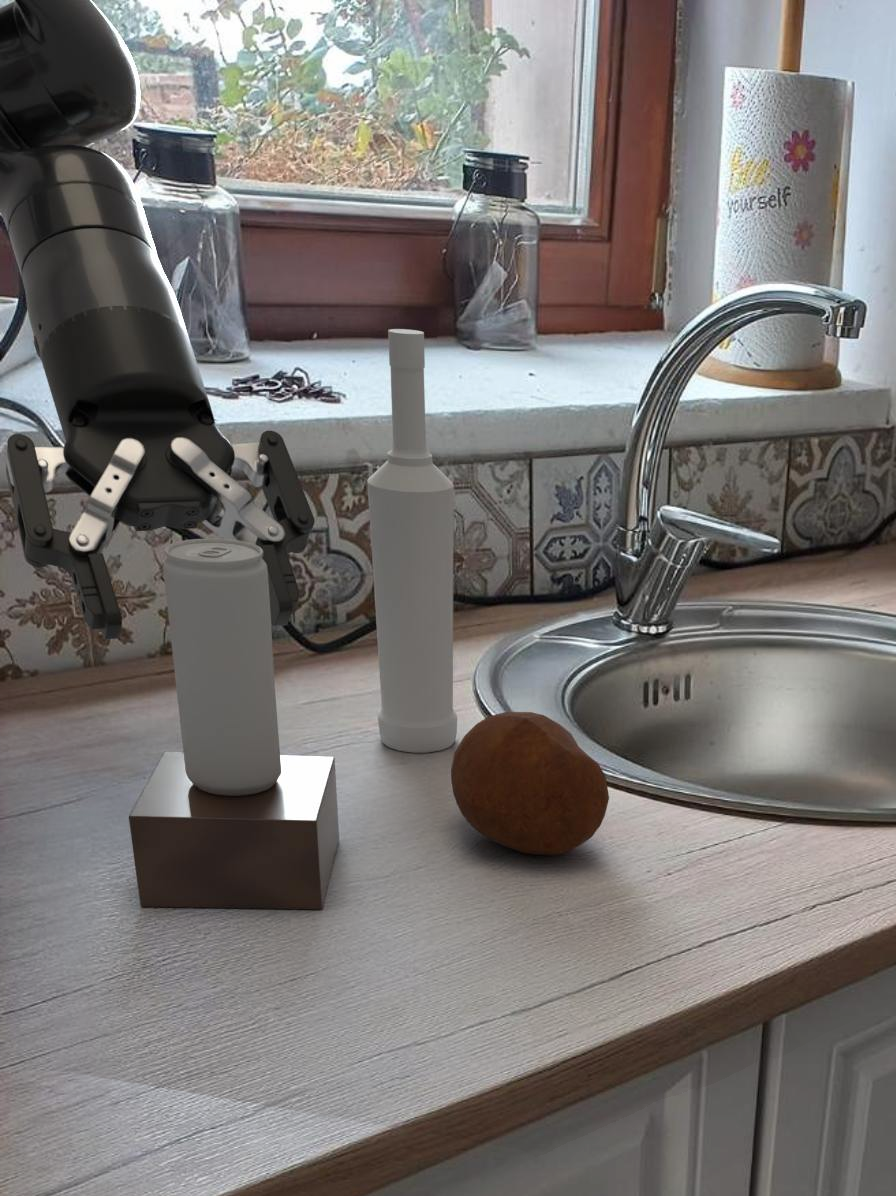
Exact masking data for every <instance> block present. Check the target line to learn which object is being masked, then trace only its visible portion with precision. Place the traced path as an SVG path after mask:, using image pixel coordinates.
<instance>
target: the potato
mask: <svg viewBox="0 0 896 1196" xmlns="http://www.w3.org/2000/svg"><path fill="white" fill-rule="evenodd" d="M450 781H451V787H452V794H453V796H454V800H455V803H456V805H457V807H458V809H459V811H460V813H461V815H462V816H463V818H464V819H465V820H466V822H467V823H468V824H469V825H470V826H471V827H472V828H473V829H474V830H475V831H476V832H477V833H479V834H481V835H482V836H484V837H485V838H487V839H489V840H491V841H493V842H495V843H498V844H500V845H502V846H504V847H507V848H509V849H511V850H514V851H517V852H520V853H523V854H529V855H537V856H538V855H540V856H554V855H558V854H563V853H567V852H569V851H572V850H574V849H576V848H577V847H580V846H581V845H583V844H584V843H586V842H587V841H589V840H590V839H592V837H593V836H594V835H595V834H596V832H597V831H598V830H599V828H600V827H601V825H602V823H603V821H604V818H605V817H606V813H607V810H608V809H607V808H608V805H609V800H610V795H609V788H608V782H607V777H606V775H605V772H604V771H603V769H602V767H601V765H600V764H599V762H598V761H596V760H595V759H593V758H592V757H591V756H589V754H588V753H586V751H584V750H583V748H581V747H580V745H579V744H578V742H577V741H576V739H575V738H574V736H573V734H572V733H571V732H570V731H569V730H568V729H566V728H565V727H564V726H563V725H561V724H560V723H559V722H557V721H555V720H553V719H552V718H549V717H548V716H546V715H544V714H541V713H537V712H532V711H505V712H500V713H496V714H494V715H490V716H487V717H485V718H483V719H482V720H481V721H479V722H477V723H476V724H474V725H473V726H472V728H471V729H470V730H469V731H468V732H467V733H466V734H465V735H464V736H463V738H462V739H461V741H460V742H459V744H458V745H457V747H456V749H455V750H454V753H453V756H452V761H451V767H450Z"/></svg>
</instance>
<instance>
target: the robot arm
mask: <svg viewBox="0 0 896 1196" xmlns="http://www.w3.org/2000/svg"><path fill="white" fill-rule="evenodd" d="M140 103H141V88H140V79H139V75H138V71H137V67H136V65H135V62H134V60H133V57H132V55H131V52H130V51H129V48H128V47H127V45H126V44H125V42H124V40H123V38H122V37H121V35H120V34H119V33H118V31H117V29H116V28H115V27H114V26H113V24H112V23H111V21H109V19H108V18H107V17H106V16H105V14H104V13H103V12H102V11H101V10H100V8H98V7H97V5H96V4H95V3H94V2H93V1H92V0H14V1H11V2H10V3H8V4H5V5H4V6H1V7H0V216H1V218H2V219H3V222H4V226H5V228H6V230H7V233H8V237H9V241H10V244H11V247H12V251H13V253H14V257H15V260H16V263H17V267H18V271H19V273H20V277H21V280H22V284H23V287H24V288H23V289H24V293H25V301H26V308H27V315H28V319H29V324H30V327H31V329H32V334H33V346H34V348H35V349H34V350H35V353H36V354H37V355H36V356H37V357H38V358H39V360H40V361H41V364H42V368H43V371H44V374H45V377H46V381H47V384H48V388H49V391H50V395H51V397H52V401H53V403H54V408H55V411H56V414H57V417H58V420H59V421H58V422H59V424H60V428H61V430H62V433H63V437H64V440H65V442H64V445H63V446H38V445H37V446H36V445H35V443H34V441H33V440H32V438H30V437H29V436H27V435H25V434H22V433H15V434H11V435H10V436H9V437H8V439H7V443H6V463H5V464H6V465H5V474H6V479H7V483H8V487H9V492H10V496H11V501H12V506H13V511H14V515H15V520H16V524H17V529H18V533H19V538H20V542H21V546H22V551H23V555H24V556H23V557H24V560H25V561H26V562H27V563H28V565H30V566H32V567H34V568H40V569H41V568H45V567H47V566H54V567H56V568H57V567H58V568H61V569H63V570H64V571H66V572H67V574H69V576H70V578H71V580H72V583H73V586H74V587H73V588H74V590H75V593H76V597H77V600H78V603H79V607H80V611H81V614H82V617H83V621H84V622H85V623H86V625H87V626H88V627H89V628H90V630H100V634H101V636H102V638H103V640H104V641H105V640H118V639H121V638H120V637H121V632H122V626H123V618H122V617H123V616H122V613H121V609H120V606H119V602H118V599H117V595H116V592H115V590H114V586H113V583H112V579H111V576H110V573H109V570H108V566H107V563H106V560H105V556H104V550H105V549H107V548H108V547H109V544H110V543H111V541H112V540H113V538H114V536H115V534H116V533H117V532H118V529H119V528H120V525H121V524H124V525H125V526H130V527H133V528H134V531H135V532H151V531H154V530H158V529H161V528H164V527H167V528H173V529H178V530H189V529H190V530H193V529H194V530H195V529H198V528H197V527H198V525H199V524H203V525H204V526H205V527H206V528H208V529H209V530H210V531H211V532H212V533H214V534H215V535H216V536H217V537H218V538H219V539H230V540H238V541H244V542H248V543H252V544H255V545H257V546H259V547H260V548H261V549H262V550H263V556H262V559H263V560H264V562H265V563H266V564H267V570H268V583H269V597H270V612H271V626H272V627H282V626H288V624H289V622H290V620H291V617H292V615H294V614H295V611H296V608H297V606H298V603H299V601H300V593H301V592H300V588H299V586H298V582H297V580H296V577H295V573H294V570H293V567H292V563H291V560H290V557H289V554H290V553H291V554H301V553H303V552H304V551H305V550H306V547H307V545H308V540H309V538H310V534H311V532H312V530H313V528H314V526H315V522H316V521H315V517H314V514H313V512H312V509H311V506H310V504H309V502H308V498H307V497H306V494H305V490H304V489H303V487H302V484H301V481H300V478H299V476H298V474H297V471H296V468H295V466H294V463H293V461H292V458H291V456H290V455H291V454H289V451H288V448H287V445H286V443H285V440H284V438H283V437H282V435H281V434H279V432H276V431H275V430H265V431H263V432H262V433H261V434H260V438H259V441H248V442H234V443H231V442H230V441H229V440H228V439H227V438H226V437H225V436H224V435H223V433H222V432H221V431H220V429H219V428H218V427H217V424H216V420H215V417H214V412H213V410H212V406H211V403H210V399H209V397H208V394H207V391H206V387H205V384H204V381H203V378H202V374H201V372H200V368H199V365H198V361H197V359H196V355H195V353H194V349H193V346H192V343H191V340H190V337H189V333H188V330H187V327H186V324H185V321H184V318H183V315H182V311H181V308H180V305H179V303H178V300H177V296H176V295H175V294H176V293H175V292H174V290H173V288H172V286H171V283H170V282H169V279H168V278H167V275H166V274H165V272H164V269H163V266H162V264H161V262H160V259H159V256H158V253H157V249H156V246H155V243H154V240H153V238H152V237H153V236H152V234H151V230H150V228H149V225H148V220H147V216H146V214H145V210H144V208H143V204H142V201H141V198H140V196H139V193H138V191H137V188H136V186H135V183H134V182H133V180H132V178H131V177H130V175H129V174H128V172H127V171H126V170H125V169H124V168H123V166H122V165H120V163H118V161H116V160H115V159H114V158H112V157H110V156H109V155H108V154H106V153H104V152H102V151H100V150H97V149H93V148H91V147H90V146H91V145H94V144H96V143H98V142H101V141H103V140H105V139H109V138H110V137H112V136H114V135H116V134H119V133H120V132H123V131H124V130H125V129H126V128H128V127H130V126H131V125H132V124H133V122H134V121H135V119H136V118H137V115H138V113H139V109H140ZM233 469H235V470H239V471H242V472H243V473H244V474H245V475H246V477H247V479H248V480H249V481H250V482H251V484H252V486H253V487H255V488H261V490H262V493H263V495H264V498H265V500H266V503H267V505H268V508H269V510H270V513H271V516H272V517H271V516H270V515H269V514H268V513H267V512H266V511H264V509H262V508H261V507H260V506H258V505H257V504H256V502H254V498H253V497H252V494H251V493H250V492H249V491H248V490H247V488H245V487H244V486H242V485H241V484H240V483H239V482H238V481H236V480H235V479H234V478H233V477H232V476H231V475H232V471H233ZM61 474H65V476H66V477H67V478H68V480H69V481H70V482H71V483H72V484H74V485H75V486H76V487H77V488H79V489H80V490H81V491H82V492H83V493H84V494H86V495H87V496H88V499H87V501H86V504H85V507H84V510H83V511H82V513H81V515H80V516H79V518H78V520H77V521H76V524H75V525H74V527H73V528H72V530H71V532H69V531H66V530H62V529H57V528H54V526H53V523H52V518H51V514H50V509H49V505H48V500H47V496H46V494H47V493H50V492H51V491H52V490H53V489H54V488H55V481H56V480H55V479H56V478H57V477H58V476H59V475H61ZM218 501H220V503H221V504H222V505H223V508H224V509H223V508H222V507H221V506H220V505H219V504H217V502H218Z"/></svg>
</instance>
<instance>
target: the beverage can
mask: <svg viewBox="0 0 896 1196" xmlns="http://www.w3.org/2000/svg"><path fill="white" fill-rule="evenodd" d="M163 552H164V555H165V557H166V559H165V560H164V562H163V564H162V570H163V579H164V588H165V589H164V590H165V596H166V606H167V615H168V616H167V617H168V626H169V634H170V642H171V651H172V662H173V670H174V679H175V680H174V681H175V688H176V689H175V690H176V696H177V706H178V716H179V724H180V733H181V743H182V752H184V761H185V770H186V774H187V776H188V778H189V780H190V781H191V782H192V783H193V784H194V785H195V786H197V787H198V788H199V789H201V790H203V791H205V792H208V793H211V794H216V795H224V796H241V795H250V794H255V793H259V792H262V791H265V790H267V789H269V788H271V787H272V786H273V785H274V784H275V783H276V782H277V780H278V778H279V776H280V775H281V760H280V755H281V749H280V737H279V736H280V735H279V734H280V733H279V721H278V711H277V698H276V696H277V695H276V683H275V682H276V681H275V669H274V666H275V665H274V649H273V630H272V623H271V612H270V597H269V583H268V570H267V564H266V563H265V562H264V560H263V559H262V556H263V550H262V549H261V548H260V547H259V546H257V545H255V544H252V543H248V542H244V541H238V540H230V539H221V538H194V539H193V538H192V539H184V540H180V541H179V540H178V541H175V542H173V543H170V544H168V545H167V546H165V547H164V550H163Z"/></svg>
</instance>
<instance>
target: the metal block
mask: <svg viewBox="0 0 896 1196" xmlns="http://www.w3.org/2000/svg"><path fill="white" fill-rule="evenodd" d="M280 760H281V775H280V776H279V778H278V780H277V782H276V783H275V784H274V785H273V786H272V787H271V788H269V789H267V790H265V791H262V792H259V793H255V794H250V795H241V796H224V795H216V794H211V793H208V792H205V791H203V790H201V789H199V788H198V787H197V786H195V785H194V784H193V783H192V782H191V781H190V780H189V778H188V776H187V774H186V770H185V761H184V752H183V751H163V753H162V754H161V757H160V759H159V760H158V762H157V763H156V766H155V767H154V769H153V771H152V773H151V775H150V777H149V779H148V780H147V782H146V784H145V786H144V788H143V790H142V791H141V793H140V795H139V797H138V799H137V801H136V802H135V804H134V806H133V808H132V809H131V811H130V813H129V815H128V822H129V830H130V838H131V843H132V844H131V847H132V853H133V860H134V861H133V862H134V868H135V876H136V884H137V891H138V899H139V906H140V907H149V908H150V907H152V908H153V907H154V908H208V909H209V908H211V909H215V908H216V909H266V910H267V909H272V910H273V909H274V910H276V909H277V910H279V909H280V910H323V907H324V904H325V899H326V895H327V891H328V887H329V883H330V878H331V874H332V871H333V866H334V862H335V858H336V854H337V850H338V846H339V842H340V828H339V827H340V826H339V811H338V810H339V809H338V793H337V776H336V761H335V760H336V759H335V757H334V756H319V755H318V756H317V755H316V756H313V755H287V754H285V755H284V754H280Z"/></svg>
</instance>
